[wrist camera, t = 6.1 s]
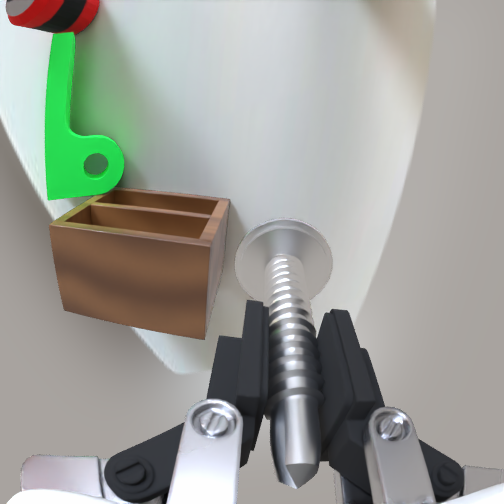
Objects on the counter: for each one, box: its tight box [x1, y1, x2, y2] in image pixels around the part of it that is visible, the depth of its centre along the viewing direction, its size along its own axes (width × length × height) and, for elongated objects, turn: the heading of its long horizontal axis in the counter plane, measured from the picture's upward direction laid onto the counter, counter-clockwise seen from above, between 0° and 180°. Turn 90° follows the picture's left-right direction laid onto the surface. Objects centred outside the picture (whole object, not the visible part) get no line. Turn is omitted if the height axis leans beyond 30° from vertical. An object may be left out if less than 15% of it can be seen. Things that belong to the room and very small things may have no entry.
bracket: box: [45, 32, 124, 200], centre depth 32 cm, size 20×10×7 cm
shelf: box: [49, 187, 230, 340], centre depth 33 cm, size 10×16×14 cm, turn 83°
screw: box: [235, 218, 333, 489], centre depth 11 cm, size 13×5×5 cm
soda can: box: [6, 0, 99, 35], centre depth 21 cm, size 8×8×12 cm
